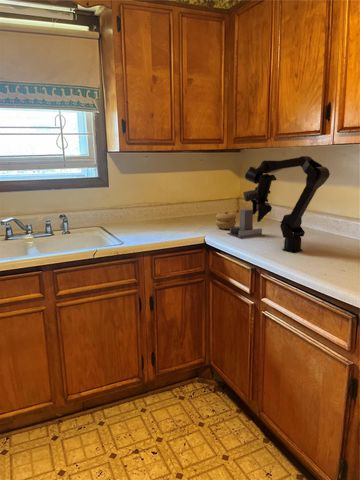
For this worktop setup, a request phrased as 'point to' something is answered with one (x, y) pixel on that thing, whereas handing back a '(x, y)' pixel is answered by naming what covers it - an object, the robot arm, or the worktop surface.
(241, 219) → the gray rectangular block
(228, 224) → the pot
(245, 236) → the bracket
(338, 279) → the worktop surface
